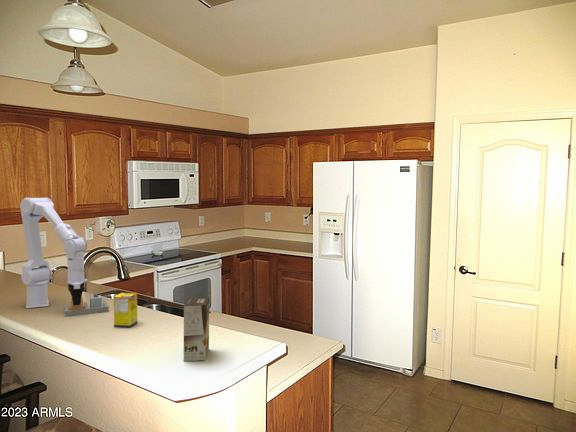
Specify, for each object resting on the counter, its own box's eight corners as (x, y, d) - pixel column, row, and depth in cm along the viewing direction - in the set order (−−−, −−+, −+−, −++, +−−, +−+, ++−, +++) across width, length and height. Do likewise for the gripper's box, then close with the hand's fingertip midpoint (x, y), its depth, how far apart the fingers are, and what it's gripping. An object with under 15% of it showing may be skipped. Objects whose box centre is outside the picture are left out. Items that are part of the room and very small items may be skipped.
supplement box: (137, 322, 152) (137, 292, 151) (129, 328, 146) (129, 297, 145) (122, 321, 152) (121, 292, 152) (113, 327, 147) (113, 296, 146)
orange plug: (71, 311, 166) (70, 296, 165) (82, 309, 168) (82, 294, 167) (71, 313, 162) (71, 298, 162) (82, 312, 164) (82, 297, 164)
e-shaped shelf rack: (64, 309, 167) (64, 304, 167) (105, 304, 174) (105, 300, 174) (65, 316, 158) (65, 311, 157) (108, 311, 165) (108, 306, 165)
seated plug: (90, 308, 169) (89, 293, 169) (100, 307, 171) (100, 292, 170) (90, 311, 165) (90, 296, 165) (101, 309, 167) (101, 295, 167)
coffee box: (206, 361, 119) (206, 305, 118) (183, 361, 118) (183, 305, 117) (209, 349, 128) (209, 297, 127) (188, 349, 127) (188, 297, 126)
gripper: (88, 271, 159) (89, 306, 160) (85, 265, 172) (86, 297, 173) (67, 272, 156) (68, 308, 157) (66, 266, 169) (66, 299, 169)
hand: (76, 303), depth 165 cm, fingers open, 5 cm apart
